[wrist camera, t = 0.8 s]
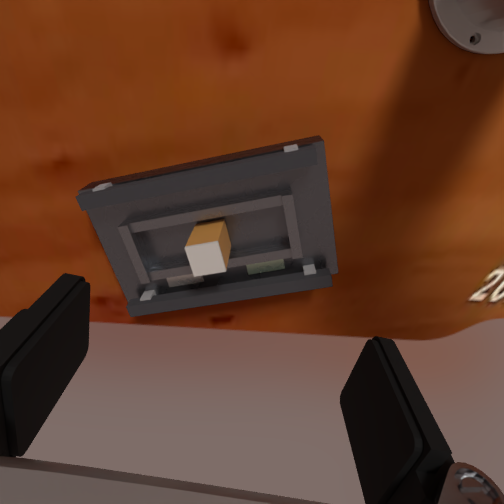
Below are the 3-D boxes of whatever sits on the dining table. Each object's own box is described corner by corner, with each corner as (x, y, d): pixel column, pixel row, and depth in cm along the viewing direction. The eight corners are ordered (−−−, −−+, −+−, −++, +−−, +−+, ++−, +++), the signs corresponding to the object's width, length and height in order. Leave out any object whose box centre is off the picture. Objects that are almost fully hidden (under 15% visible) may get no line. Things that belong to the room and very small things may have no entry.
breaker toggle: (224, 218, 34) (217, 242, 30) (231, 245, 36) (226, 271, 31) (195, 224, 35) (184, 247, 30) (203, 250, 36) (194, 276, 31)
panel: (319, 135, 33) (327, 144, 29) (333, 259, 40) (341, 283, 35) (91, 182, 36) (67, 197, 32) (138, 291, 43) (123, 316, 38)
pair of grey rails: (312, 140, 31) (315, 145, 29) (329, 276, 37) (332, 288, 35) (86, 187, 33) (74, 194, 31) (138, 305, 40) (131, 318, 38)
